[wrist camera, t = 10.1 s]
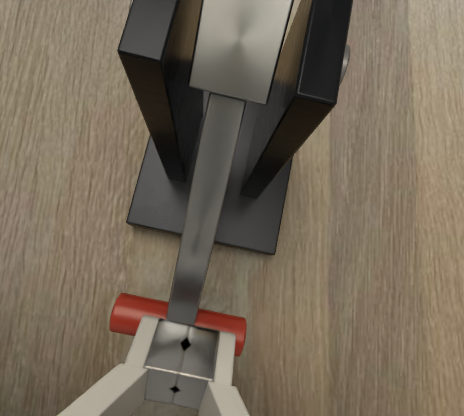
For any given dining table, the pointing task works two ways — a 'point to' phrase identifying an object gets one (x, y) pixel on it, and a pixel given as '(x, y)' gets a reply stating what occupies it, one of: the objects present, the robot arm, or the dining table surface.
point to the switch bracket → (253, 123)
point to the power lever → (215, 149)
